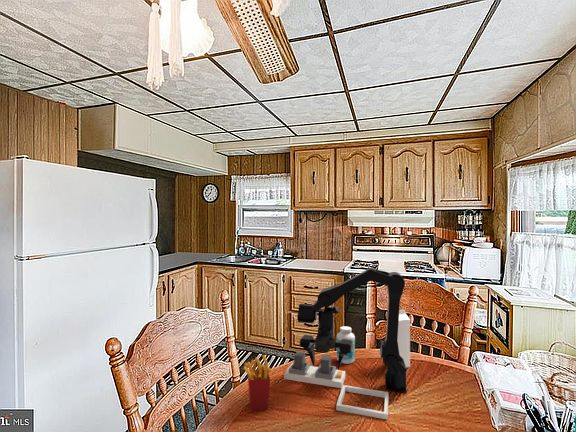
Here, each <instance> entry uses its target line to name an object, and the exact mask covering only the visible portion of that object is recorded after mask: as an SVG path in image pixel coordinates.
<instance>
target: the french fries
mask: <svg viewBox="0 0 576 432" xmlns="http://www.w3.org/2000/svg"><path fill="white" fill-rule="evenodd" d="M261 356H262V360H263V362H264V363H261V361H260V359H259V358H258V357H256V356H255V358H254V359H251V361H247V362H245V363H244V364H243V365H244V367H243V370H244V371H245V372H246V373H247V381H248V382H247V384H248V396H249V406H250V412H251V413H255V412H263V411H268V405H269V398H270V397H269V396H270V386H271V385H270V384H271V377H270V375H269V373H270V371H271V369H272V368H271V367H268V360H267V357H266V355H265V354H263V355H261ZM256 368H257V369H256Z"/></svg>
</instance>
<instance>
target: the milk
mask: <svg viewBox="0 0 576 432" xmlns="http://www.w3.org/2000/svg"><path fill="white" fill-rule="evenodd" d="M397 341H398V348H399V355H400V356H401V357H402V358H403V359H404V362H405V366H406V369H408V368H410V367H411V319H410V317H409V316H408V315H407V313H406V309H399V323H398V339H397Z"/></svg>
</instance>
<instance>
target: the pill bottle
mask: <svg viewBox="0 0 576 432" xmlns="http://www.w3.org/2000/svg"><path fill="white" fill-rule="evenodd" d="M339 330H340V332H338V333H337V334H336V342H341V340H342V339H345V340H351V341H352V342H353V348H352V351H351V353H348V354H347V355H344V356H343V358H342V361H341V364H345V365H346V364H347V365H348V364H349V365H350V364H353V363H354V362H355V361H356V357H355V356H356V351H355V350H356V348H355V347H356V336H355V334H354V333H353V332H352V327H350V326H344V325H343V326H340V327H339ZM339 351H340V350H339V348H337V347H336V360H337V361H338V358H339Z"/></svg>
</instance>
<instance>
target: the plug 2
mask: <svg viewBox="0 0 576 432" xmlns="http://www.w3.org/2000/svg"><path fill="white" fill-rule="evenodd" d="M320 364H321V373H325V374H330V373H331V366H332V355H329V354H322V356H321V358H320Z"/></svg>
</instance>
